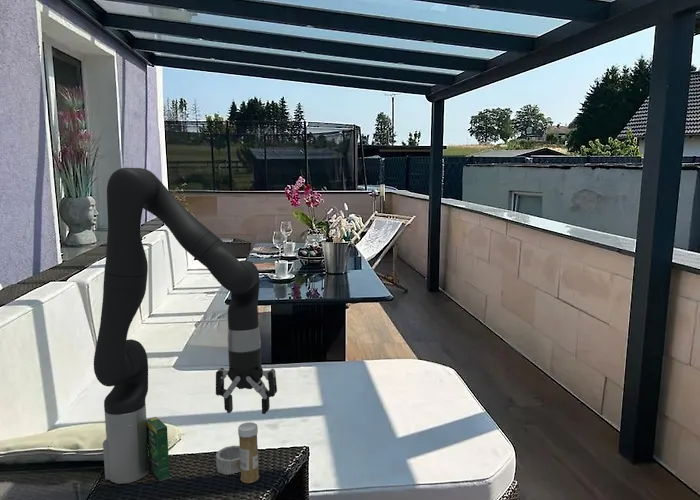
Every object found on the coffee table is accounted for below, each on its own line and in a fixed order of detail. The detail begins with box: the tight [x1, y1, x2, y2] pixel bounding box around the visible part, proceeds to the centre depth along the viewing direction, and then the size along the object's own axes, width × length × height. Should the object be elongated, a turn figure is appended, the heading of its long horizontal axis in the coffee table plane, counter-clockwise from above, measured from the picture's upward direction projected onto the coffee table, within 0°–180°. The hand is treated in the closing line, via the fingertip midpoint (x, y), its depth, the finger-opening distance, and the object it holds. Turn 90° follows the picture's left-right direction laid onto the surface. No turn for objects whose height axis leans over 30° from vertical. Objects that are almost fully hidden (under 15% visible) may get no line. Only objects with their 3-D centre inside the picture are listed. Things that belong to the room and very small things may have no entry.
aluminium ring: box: [215, 445, 241, 476], centre depth 130 cm, size 8×8×4 cm
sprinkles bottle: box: [237, 421, 260, 484], centre depth 124 cm, size 5×5×13 cm
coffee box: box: [146, 416, 171, 482], centre depth 127 cm, size 8×3×13 cm, turn 38°
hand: (247, 412), depth 122 cm, fingers open, 8 cm apart
